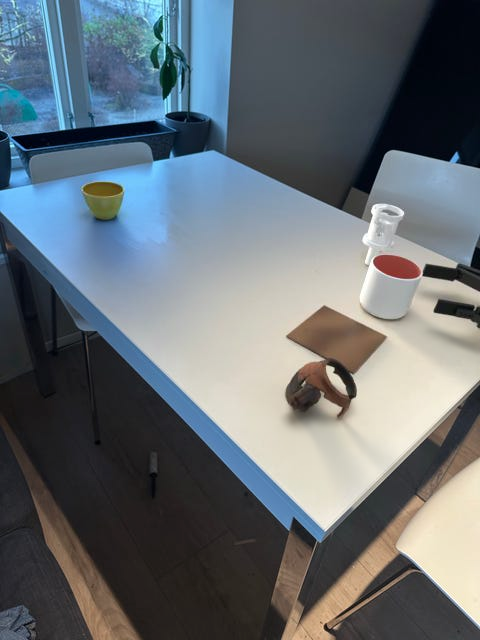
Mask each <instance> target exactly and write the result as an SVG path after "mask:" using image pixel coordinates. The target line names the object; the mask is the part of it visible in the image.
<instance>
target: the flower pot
mask: <svg viewBox="0 0 480 640" xmlns="http://www.w3.org/2000/svg"><path fill="white" fill-rule="evenodd" d="M81 193H82V196H83V199H84V201H85V203H86V205H87V207H88V209H89V211H90V212H91V213H92V214H93V216H94V217H95V218H96V219H98V220H103V221H106V220H107V221H108V220H113V219H114V218H116V216H117V215H118V213H119V211H120V209H121V206H122V204H123V200H124V195H125V187H124V186H123V185H121V184H119V183H117V182H114V181H107V180H104V181H103V180H99V181H92V182H88V183H86V184H83V186H82V187H81Z"/></svg>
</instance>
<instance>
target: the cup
mask: <svg viewBox="0 0 480 640" xmlns="http://www.w3.org/2000/svg"><path fill="white" fill-rule="evenodd" d="M422 275H423V269H422V267H420V266H419V265H418V264H417V263H416V262H414V261H413V260H412V259H409V258H407V257H404V256H401V255H396V254H392V253H391V254H390V253H386V254H385V253H383V254H382V253H381V255H377V256H375V257H374V258H373V259H372V260H371V263H370V266H368V269H367V273H366V275H365V279H364V282H363V285H362V288H361V292H360V294H359V303H360V305H361V307H362V308H363V309H364V310H365V311H366V312H367V313H368V314H371V315H372V316H374V317H377V318H380V319H382V320H383V319H384V320H397V319H400V318H403V317H405V315H406V314H407V313H408V312H409V309H410V307H411V304H412V302H413V299H414V297H415V294H416V292H417V290H418V287H419V284H420V282H421V280H422V278H423V276H422Z"/></svg>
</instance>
